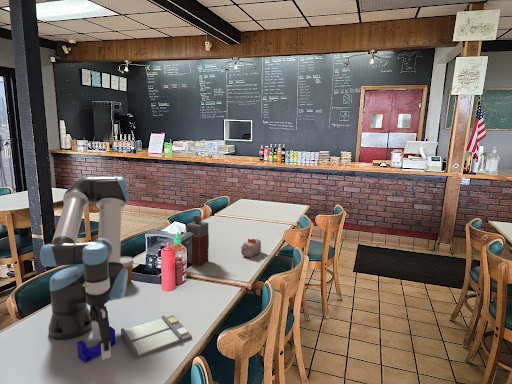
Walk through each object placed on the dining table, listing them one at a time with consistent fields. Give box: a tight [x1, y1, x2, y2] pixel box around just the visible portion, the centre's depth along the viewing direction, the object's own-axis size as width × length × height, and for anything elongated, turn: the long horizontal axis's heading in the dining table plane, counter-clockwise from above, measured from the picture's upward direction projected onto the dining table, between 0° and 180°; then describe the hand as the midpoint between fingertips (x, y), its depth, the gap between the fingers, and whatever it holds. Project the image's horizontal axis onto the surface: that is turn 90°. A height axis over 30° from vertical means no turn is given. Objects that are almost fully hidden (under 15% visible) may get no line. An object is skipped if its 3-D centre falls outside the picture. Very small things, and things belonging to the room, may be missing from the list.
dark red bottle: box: [185, 214, 210, 267], centre depth 198 cm, size 9×11×28 cm
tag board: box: [120, 314, 193, 360], centre depth 131 cm, size 17×21×2 cm
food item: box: [240, 238, 262, 259], centre depth 213 cm, size 14×8×10 cm, turn 152°
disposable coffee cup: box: [120, 256, 135, 285], centre depth 172 cm, size 10×10×12 cm
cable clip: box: [76, 325, 117, 364], centre depth 121 cm, size 12×4×6 cm, turn 142°
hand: (101, 347), depth 120 cm, fingers open, 13 cm apart
